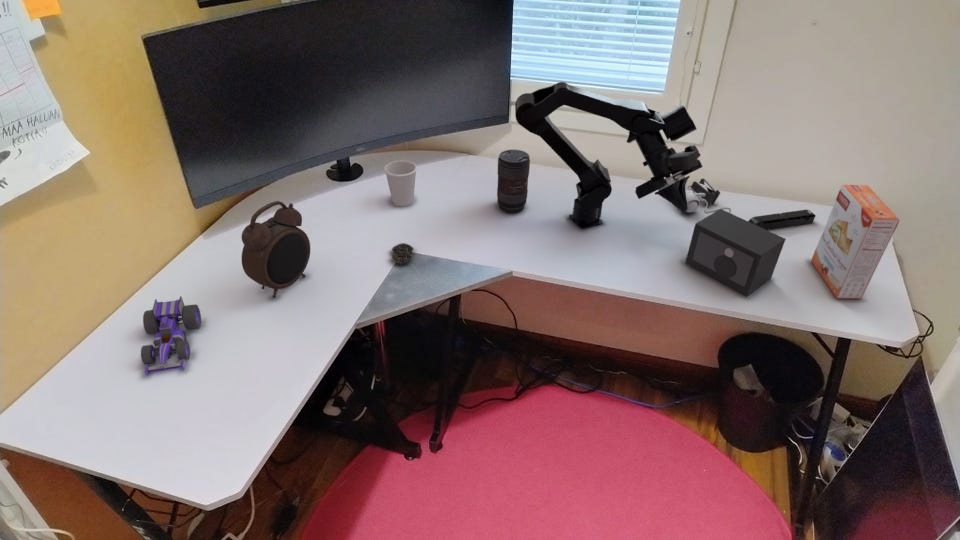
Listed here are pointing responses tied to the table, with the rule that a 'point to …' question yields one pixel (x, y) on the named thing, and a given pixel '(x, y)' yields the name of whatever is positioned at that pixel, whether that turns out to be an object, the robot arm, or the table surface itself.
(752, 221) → the tablet stand
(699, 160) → the robot arm
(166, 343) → the toy race car
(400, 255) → the corroded twin loop
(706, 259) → the speaker
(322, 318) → the table surface
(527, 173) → the camera lens
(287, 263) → the alarm clock
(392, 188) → the dixie cup
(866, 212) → the cracker box
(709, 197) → the clip-on lamp
